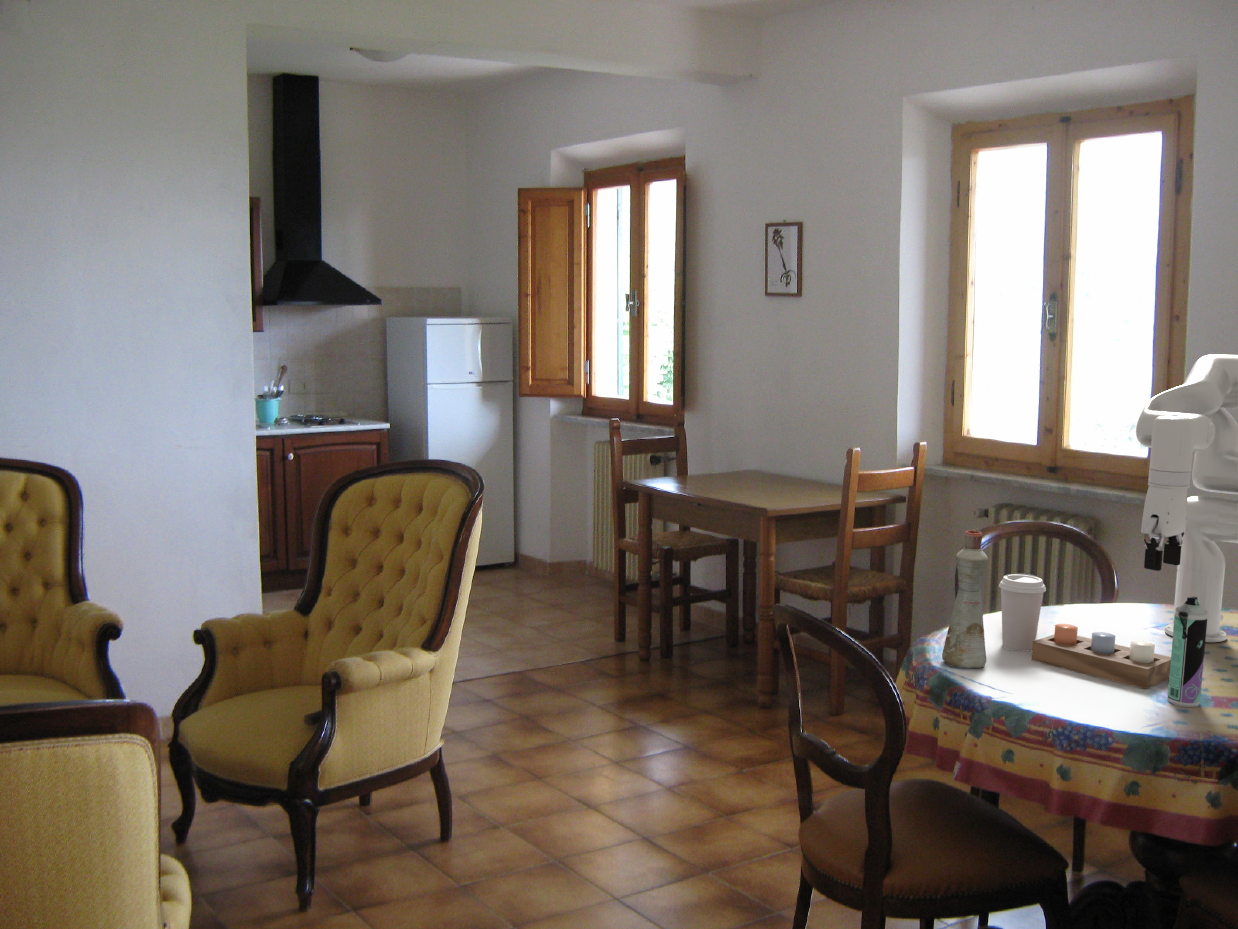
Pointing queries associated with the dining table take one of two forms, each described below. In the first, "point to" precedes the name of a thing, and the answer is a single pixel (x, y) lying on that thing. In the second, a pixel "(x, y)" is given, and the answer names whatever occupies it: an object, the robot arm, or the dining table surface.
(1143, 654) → the cream cylinder
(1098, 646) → the blue-grey egg
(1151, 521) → the robot arm
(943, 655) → the bottle
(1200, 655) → the spray can
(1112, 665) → the wooden egg holder
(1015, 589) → the coffee cup
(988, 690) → the dining table surface
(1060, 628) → the rust egg
